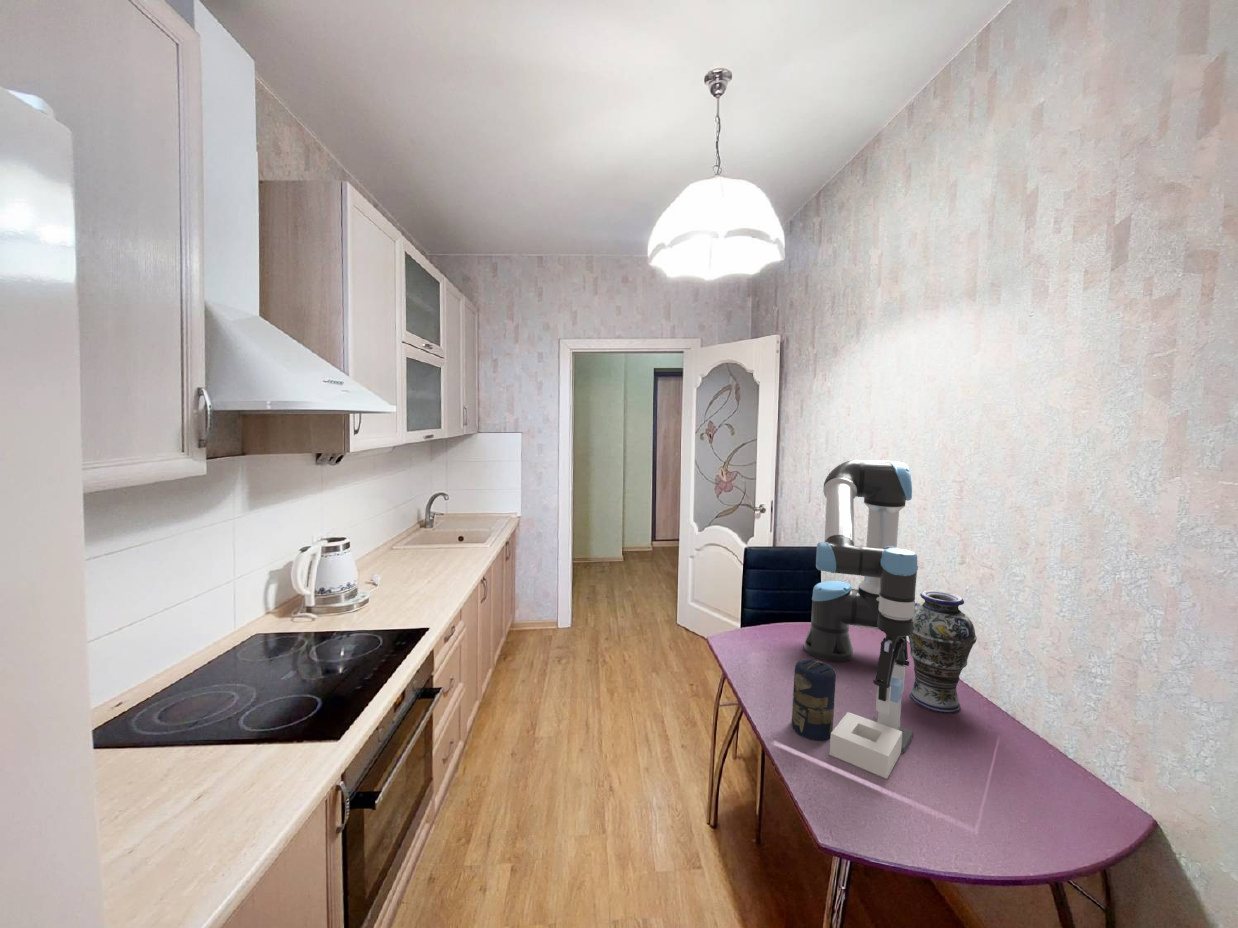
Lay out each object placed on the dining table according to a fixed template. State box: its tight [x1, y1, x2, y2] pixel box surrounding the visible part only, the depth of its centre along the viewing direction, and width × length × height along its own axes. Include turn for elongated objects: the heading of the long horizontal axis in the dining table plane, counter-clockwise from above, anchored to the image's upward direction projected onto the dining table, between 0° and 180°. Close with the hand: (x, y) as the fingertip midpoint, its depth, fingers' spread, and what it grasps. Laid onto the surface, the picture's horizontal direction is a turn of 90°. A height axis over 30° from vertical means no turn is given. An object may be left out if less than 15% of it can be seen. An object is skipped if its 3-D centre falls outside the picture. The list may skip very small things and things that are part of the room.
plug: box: [877, 677, 903, 730], centre depth 126 cm, size 4×4×14 cm
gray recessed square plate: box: [871, 716, 914, 754], centre depth 127 cm, size 9×9×2 cm
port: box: [828, 711, 902, 780], centre depth 119 cm, size 12×12×6 cm
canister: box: [791, 658, 837, 742], centre depth 128 cm, size 10×10×18 cm
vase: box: [907, 590, 978, 714], centre depth 143 cm, size 17×17×30 cm
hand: (890, 700), depth 126 cm, fingers open, 13 cm apart
